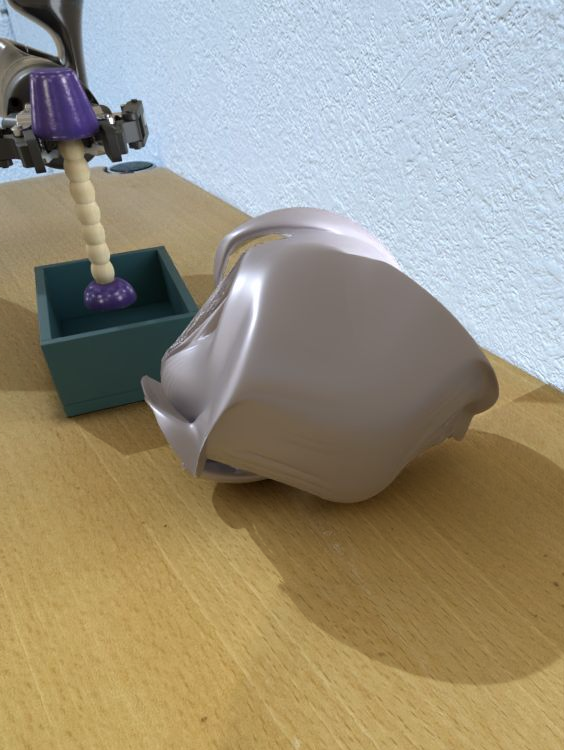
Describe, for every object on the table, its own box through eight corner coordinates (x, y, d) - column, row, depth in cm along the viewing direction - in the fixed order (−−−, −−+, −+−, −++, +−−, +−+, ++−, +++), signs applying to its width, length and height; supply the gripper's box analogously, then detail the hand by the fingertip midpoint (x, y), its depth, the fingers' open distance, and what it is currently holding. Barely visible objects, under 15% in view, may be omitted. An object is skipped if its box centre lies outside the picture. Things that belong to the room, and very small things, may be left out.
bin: (55, 329, 66) (33, 266, 62) (177, 306, 69) (164, 245, 65) (66, 417, 53) (40, 345, 49) (216, 384, 56) (201, 314, 53)
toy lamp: (120, 285, 61) (58, 62, 50) (156, 296, 59) (98, 65, 48) (74, 305, 58) (-3, 72, 47) (109, 317, 56) (37, 77, 45)
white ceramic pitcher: (193, 593, 40) (158, 391, 29) (137, 402, 50) (96, 199, 39) (493, 511, 46) (558, 321, 35) (389, 357, 57) (414, 172, 46)
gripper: (-57, 71, 56) (-59, 103, 44) (122, 54, 61) (165, 78, 49) (-20, 171, 61) (-12, 224, 49) (144, 148, 65) (188, 191, 53)
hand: (76, 151), depth 49 cm, fingers closed on toy lamp, 4 cm apart
